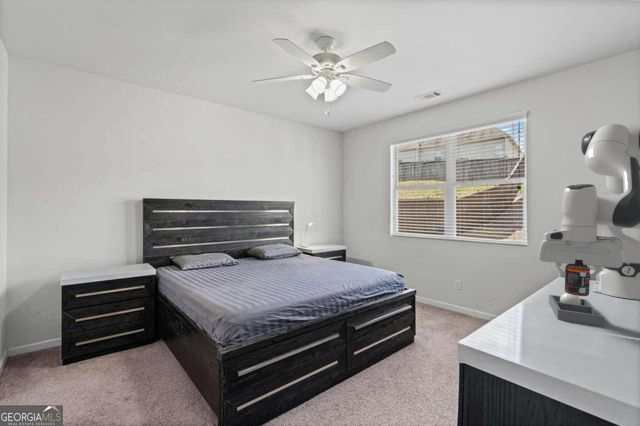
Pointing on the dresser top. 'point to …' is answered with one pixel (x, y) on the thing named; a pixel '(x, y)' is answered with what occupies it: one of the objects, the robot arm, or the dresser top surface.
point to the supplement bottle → (577, 278)
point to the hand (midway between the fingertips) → (577, 278)
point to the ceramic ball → (570, 299)
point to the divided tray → (576, 311)
